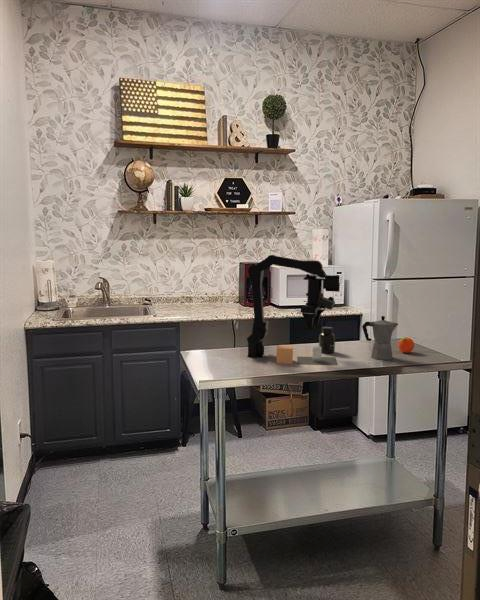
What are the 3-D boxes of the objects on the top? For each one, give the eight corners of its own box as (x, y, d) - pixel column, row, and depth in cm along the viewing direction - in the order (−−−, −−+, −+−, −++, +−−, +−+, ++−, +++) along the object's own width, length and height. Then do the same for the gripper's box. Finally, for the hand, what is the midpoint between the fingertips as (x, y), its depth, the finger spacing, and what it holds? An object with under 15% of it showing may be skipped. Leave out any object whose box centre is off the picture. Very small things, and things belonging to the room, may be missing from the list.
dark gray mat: (297, 366, 204) (297, 364, 204) (297, 358, 218) (297, 356, 218) (338, 367, 202) (338, 365, 202) (335, 359, 216) (335, 357, 216)
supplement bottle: (334, 356, 222) (335, 329, 221) (318, 355, 224) (319, 328, 222) (334, 353, 229) (335, 326, 228) (319, 352, 230) (319, 326, 229)
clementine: (406, 355, 224) (406, 339, 223) (393, 352, 230) (393, 336, 229) (417, 353, 229) (418, 337, 228) (404, 350, 234) (404, 335, 234)
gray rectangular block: (312, 361, 208) (313, 348, 208) (312, 359, 212) (312, 346, 211) (321, 361, 208) (321, 348, 207) (320, 359, 211) (321, 346, 211)
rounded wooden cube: (276, 365, 206) (276, 348, 205) (277, 362, 212) (277, 345, 211) (292, 366, 205) (292, 348, 204) (292, 362, 211) (292, 345, 210)
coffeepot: (393, 355, 225) (394, 314, 223) (400, 360, 216) (402, 317, 214) (358, 355, 224) (359, 314, 222) (364, 360, 215) (365, 317, 213)
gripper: (327, 293, 203) (326, 332, 205) (338, 289, 220) (337, 325, 222) (300, 292, 207) (299, 330, 209) (313, 288, 224) (312, 323, 226)
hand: (313, 327), depth 216 cm, fingers open, 9 cm apart
